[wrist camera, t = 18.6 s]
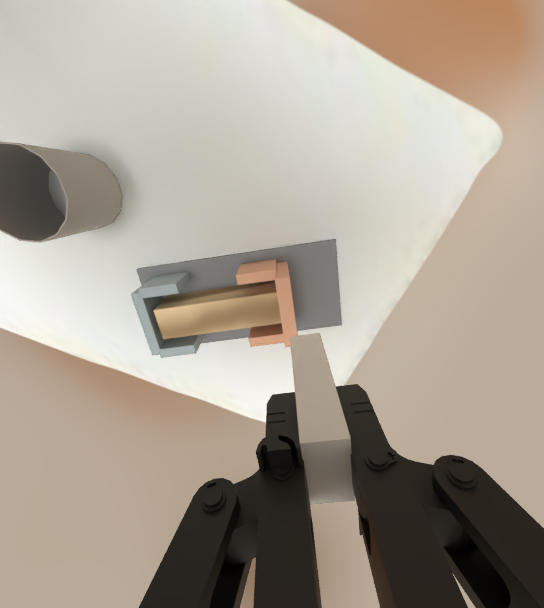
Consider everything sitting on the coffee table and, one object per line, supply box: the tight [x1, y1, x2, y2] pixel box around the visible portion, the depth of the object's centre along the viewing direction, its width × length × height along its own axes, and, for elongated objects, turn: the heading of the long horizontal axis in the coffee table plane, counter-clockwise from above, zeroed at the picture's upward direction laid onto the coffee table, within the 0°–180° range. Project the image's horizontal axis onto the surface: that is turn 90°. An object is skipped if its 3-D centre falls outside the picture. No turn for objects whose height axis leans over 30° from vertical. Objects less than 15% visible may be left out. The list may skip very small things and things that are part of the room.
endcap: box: [236, 259, 298, 347], centre depth 36 cm, size 9×6×7 cm, turn 9°
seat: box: [131, 239, 342, 358], centre depth 38 cm, size 12×26×5 cm, turn 99°
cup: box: [0, 142, 122, 242], centre depth 31 cm, size 8×8×10 cm
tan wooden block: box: [153, 280, 281, 339], centre depth 38 cm, size 4×15×5 cm, turn 99°
